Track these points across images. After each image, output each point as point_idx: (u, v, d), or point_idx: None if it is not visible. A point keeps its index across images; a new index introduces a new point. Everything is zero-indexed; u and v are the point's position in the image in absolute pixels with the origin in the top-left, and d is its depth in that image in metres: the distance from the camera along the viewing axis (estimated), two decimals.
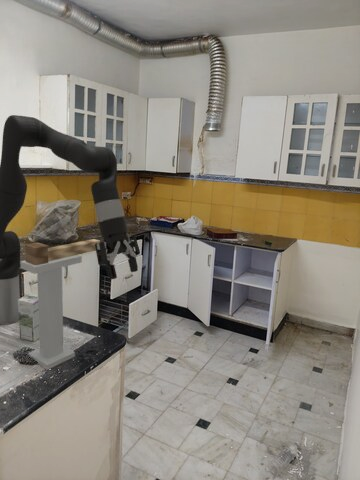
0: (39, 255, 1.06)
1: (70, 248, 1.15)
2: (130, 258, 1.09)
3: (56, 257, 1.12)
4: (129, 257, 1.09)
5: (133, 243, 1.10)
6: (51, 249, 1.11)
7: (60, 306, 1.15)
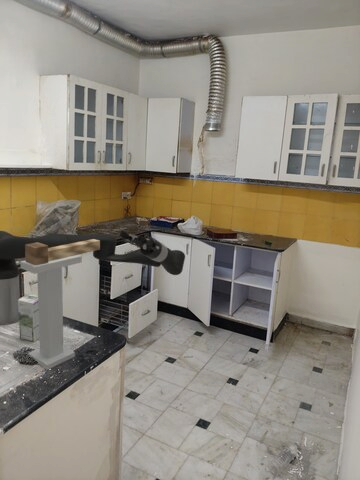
0: (39, 255, 1.06)
1: (70, 248, 1.15)
2: None
3: (56, 257, 1.12)
4: None
5: None
6: (51, 249, 1.11)
7: (60, 306, 1.15)
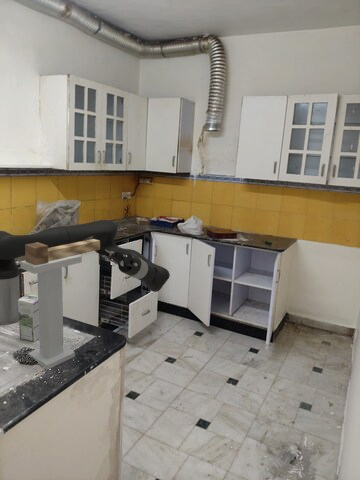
0: (39, 255, 1.06)
1: (70, 248, 1.15)
2: None
3: (56, 257, 1.12)
4: None
5: None
6: (51, 249, 1.11)
7: (60, 306, 1.15)
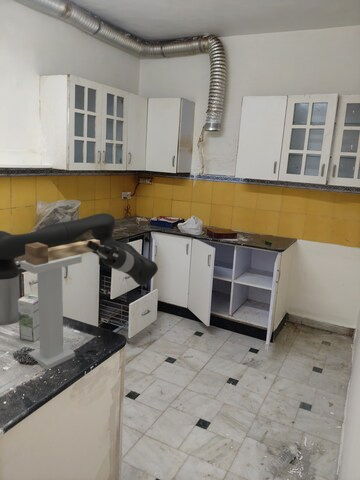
0: (39, 255, 1.06)
1: (70, 248, 1.15)
2: None
3: (56, 257, 1.12)
4: None
5: None
6: (51, 249, 1.11)
7: (60, 306, 1.15)
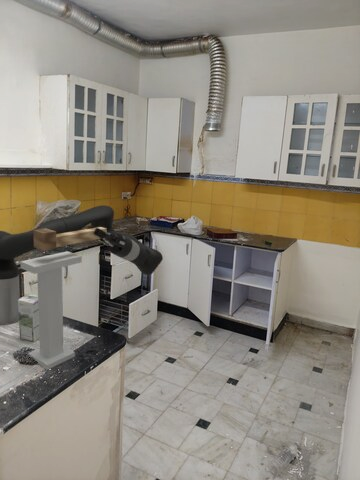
0: (47, 240, 1.07)
1: (77, 235, 1.16)
2: None
3: (64, 243, 1.13)
4: None
5: None
6: (59, 235, 1.12)
7: (60, 306, 1.15)
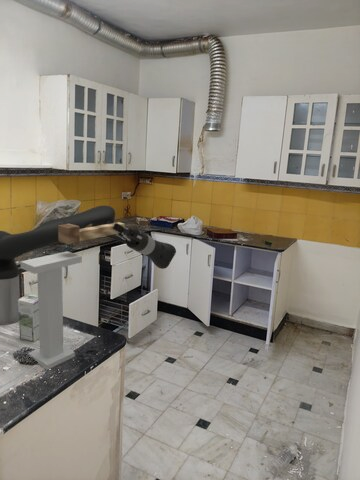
0: (71, 234, 1.13)
1: (98, 229, 1.23)
2: None
3: (86, 237, 1.19)
4: None
5: None
6: (81, 230, 1.19)
7: (60, 306, 1.15)
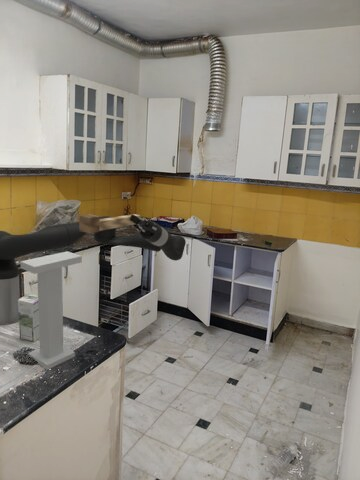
0: (92, 224, 1.19)
1: (116, 220, 1.29)
2: None
3: (105, 227, 1.25)
4: None
5: None
6: (101, 220, 1.25)
7: (60, 306, 1.15)
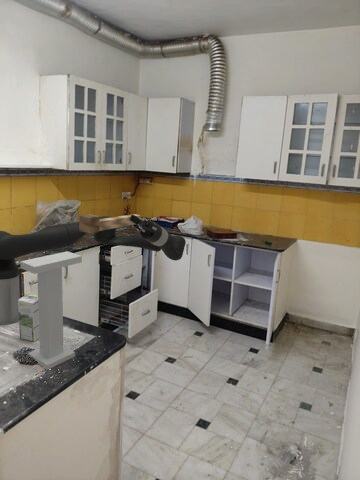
0: (92, 224, 1.19)
1: (116, 220, 1.29)
2: None
3: (105, 227, 1.25)
4: None
5: None
6: (101, 220, 1.25)
7: (60, 306, 1.15)
